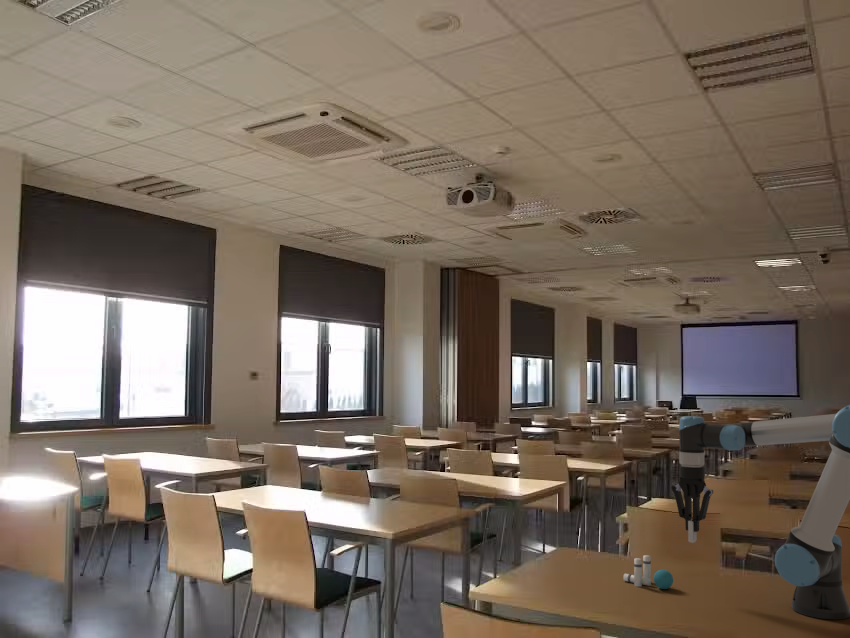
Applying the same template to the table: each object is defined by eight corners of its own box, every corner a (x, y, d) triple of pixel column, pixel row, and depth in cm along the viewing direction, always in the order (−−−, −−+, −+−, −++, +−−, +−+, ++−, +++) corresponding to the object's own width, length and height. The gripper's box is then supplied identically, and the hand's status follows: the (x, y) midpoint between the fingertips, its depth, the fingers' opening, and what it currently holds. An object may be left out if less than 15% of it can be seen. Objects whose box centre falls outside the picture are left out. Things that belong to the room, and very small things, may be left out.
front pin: (649, 576, 247) (625, 571, 252) (647, 582, 245) (622, 577, 250) (651, 581, 248) (627, 576, 253) (649, 587, 246) (624, 582, 251)
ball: (652, 577, 248) (665, 592, 245) (647, 578, 243) (661, 593, 240) (665, 565, 247) (678, 580, 244) (661, 565, 242) (675, 581, 239)
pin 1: (643, 586, 246) (643, 559, 246) (637, 587, 244) (637, 560, 245) (638, 584, 248) (638, 557, 248) (632, 585, 247) (632, 558, 247)
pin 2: (652, 582, 250) (652, 556, 250) (646, 583, 249) (646, 557, 249) (647, 580, 252) (647, 554, 253) (641, 581, 251) (641, 555, 252)
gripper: (717, 466, 237) (717, 543, 236) (677, 462, 246) (678, 536, 245) (707, 468, 232) (707, 547, 230) (666, 464, 241) (667, 540, 239)
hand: (692, 541), depth 238 cm, fingers closed
